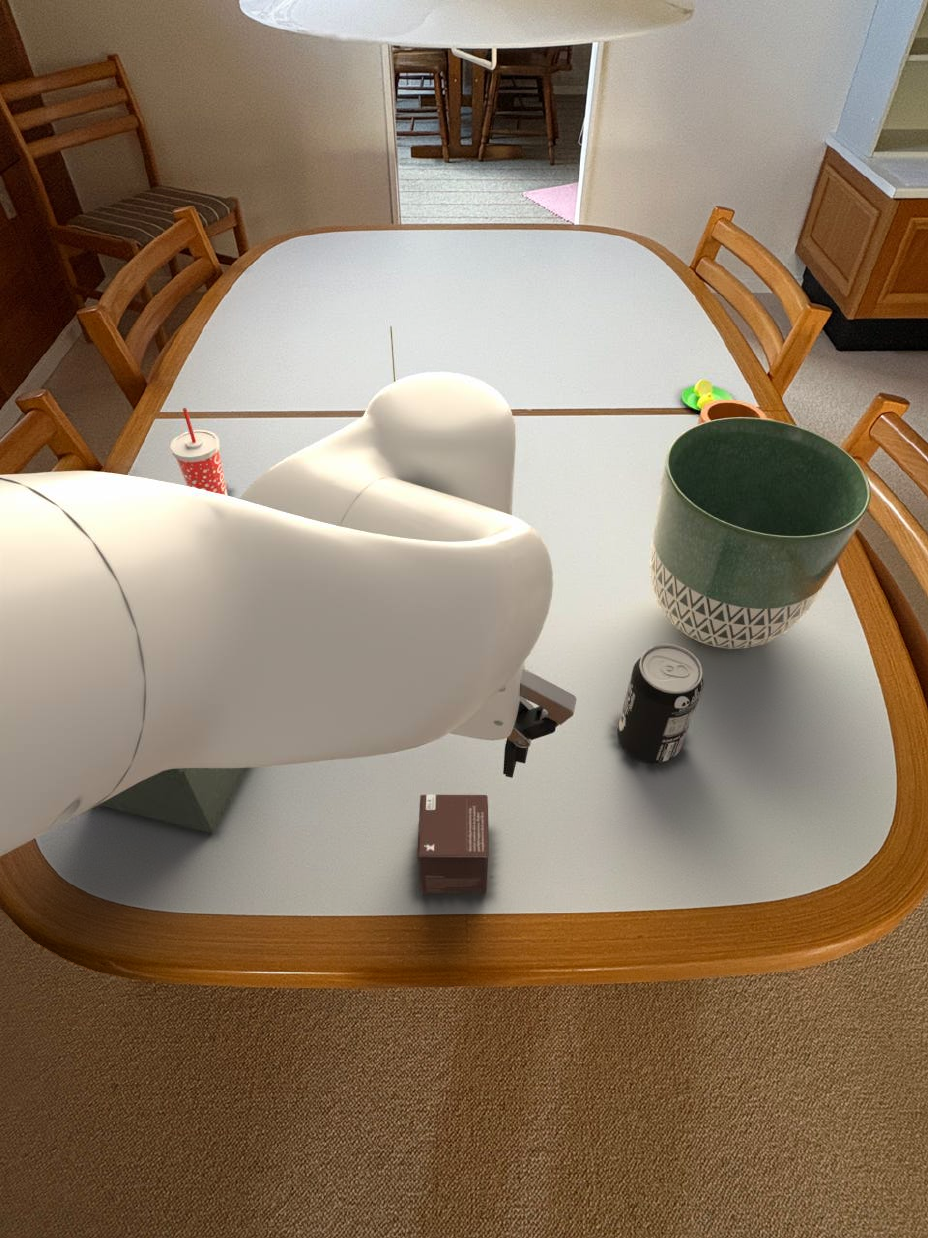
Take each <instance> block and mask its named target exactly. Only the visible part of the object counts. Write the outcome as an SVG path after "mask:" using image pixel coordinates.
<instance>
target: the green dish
mask: <svg viewBox="0 0 928 1238" xmlns="http://www.w3.org/2000/svg"><path fill="white" fill-rule="evenodd" d="M681 399H682V402H684V404H686V405H687V406H688V407H690V408H691V409H694V410H697V411H700V412H701V410H702V407H703V406H705V405H706V404H707V403H709V402H712V401H714V400H721V399H731V400H734V399H733V397H732V395H731V394H730V393H729V392H727V391H726V390H724V389H722V388H721V387H718V386H714V385H712V383H711V381H709V380H708V379H700V380H699V381H698V382H697V383H696V384H695V385H692V386H691V385H690V386H688V387H686V388H685V389H684V390H683V391H682V393H681Z"/></svg>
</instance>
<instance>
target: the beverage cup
mask: <svg viewBox="0 0 928 1238" xmlns="http://www.w3.org/2000/svg"><path fill="white" fill-rule="evenodd" d="M182 412H183V415H184V419H185V422H186V425H187V429H188V430H187V431H185V432H182V433H180V434H179V435H177V436H175V437H174V438H173V439H172V441H171V443H170V451H171V452H172V453H171V454H172V456H173V457H174V458H175V459H176V462H177V464H178V466H179V468H180V471H181V474H182V476H183V479H184V481H185V484H186V486H188V487H193V488H197V489H201V490H205V491H209V492H213V493H217V494H222V495H226V496H228V490H227V485H226V479H225V475H224V469H223V465H222V459H221V454H220V448H221V446H220V439H219V436H218V435H217V434H216V433H215V432H212V431H210V430H206V429H194V428H193V425H192V423H191V419H190V416H189V415H190V414H189V412H188V409H187V408H186V407H184V408H182ZM193 429H194V430H193Z"/></svg>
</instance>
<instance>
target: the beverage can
mask: <svg viewBox="0 0 928 1238" xmlns="http://www.w3.org/2000/svg"><path fill="white" fill-rule="evenodd" d="M704 682H705V681H704V677H703V667H702V664H701V662H700V660H699V659H698V658H697V656H695V654H694V653H692V652H691V651H690V650H688V649H687V648H684V647H683V646H679V645H676V644H671V643H662V644H661V643H660V644H656V645H653V646H651V647H649V648H647V649H646V650H644V652H643V653H642V655H641V657H639V658H638V659H637V660H636V662H635V663H634V665H633V668H632V672H631V675H630V680H629V683H628V686H627V690H626V695H625V699H624V703H623V706H622V710H621V714H620V718H619V722H618V726H617V733H616V734H617V739H618V741H619V744H620V746H621V747H622V749H623V750H624V751H625V752H626V753H627V754H628V755H629V756H631V757H632V758H633V759H635V760H637V761H640V762H643V763H646V764H652V765H653V764H663V763H667V762H669V761H671V760H673V759H674V758H675V757H676V756H677V755H678V754H679V752H680V751H681V748H682V746H683V744H684V741H685V739H686V736H687V733H688V730H689V727H690V725H691V722H692V720H693V717H694V714H695V712H696V709H697V706H698V703H699V701H700V698H701V695H702V693H703V689H704V684H705V683H704Z"/></svg>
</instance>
